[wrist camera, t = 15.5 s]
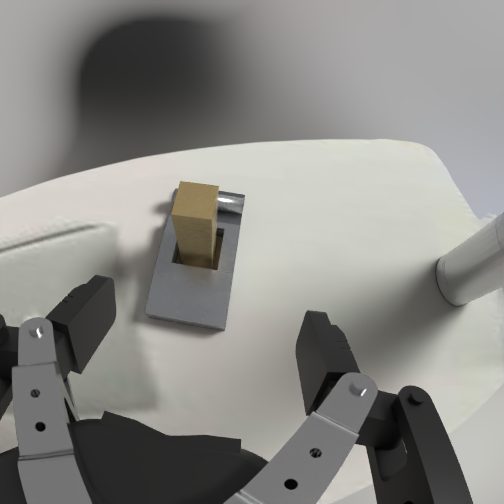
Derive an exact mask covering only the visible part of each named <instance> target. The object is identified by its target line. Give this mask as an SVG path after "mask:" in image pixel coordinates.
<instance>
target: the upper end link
mask: <svg viewBox="0 0 504 504" xmlns="http://www.w3.org/2000/svg"><path fill="white" fill-rule="evenodd" d="M239 231H240V225H235V224H228V223H222V222H217V232H219V233H224V236H223V242H222V247H221V253H220V259H219V265H218V270H212V269H206V268H200V267H194V266H188V265H182V264H176V263H174V258H175V254H176V250H177V246H178V243H177V239H176V234H175V230H174V225H173V221H172V216H171V215H169V216H168V220H167V223H166V227H165V230H164V234H163V238H162V241H161V245H160V249H159V253H158V257H157V261H156V265H155V269H154V273H153V277H152V281H151V285H150V290H149V294H148V299H147V303H146V308H145V314H146V315H147V316H148V317H151V318H156V319H161V320H166V321H171V322H177V323H182V324H188V325H193V326H199V327H205V328H211V329H218V330H224V331H225V327H226V320H227V313H228V306H229V299H230V292H231V285H232V278H233V271H234V264H235V258H236V251H237V244H238V238H239Z"/></svg>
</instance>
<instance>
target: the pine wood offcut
mask: <svg viewBox="0 0 504 504" xmlns="http://www.w3.org/2000/svg"><path fill="white" fill-rule="evenodd" d="M218 192H219V186H214V185H207V184H199V183H191V182H182V181H180V184H179V188H178V191H177V195H176V198H175V202H174V205H173V209H172V212H171V216H172V221H173V225H174V230H175V234H176V239H177V243H178V247H179V251H180V255H181V259H182V263H183V265H188V266H194V267H200V268H206V269H212V265H213V259H214V253H215V247H216V232H217V211H218Z"/></svg>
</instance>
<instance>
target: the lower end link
mask: <svg viewBox="0 0 504 504" xmlns="http://www.w3.org/2000/svg"><path fill="white" fill-rule="evenodd" d="M177 191H178V189H177V188H176V189H175V191H174V195H173V203H174V202H175V198H176V195H177ZM244 200H245V195H242V194H236V193H229V192H223V191H219V192H218V211H217V222H222V223H228V224H235V225H240V223H241V217H242V212H243V206H244ZM223 236H224V233H219V232H216V237H223ZM178 250H179V247H178V246H177V250H176V254H175V258H174V263H176V258H177V254H178Z"/></svg>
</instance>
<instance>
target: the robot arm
mask: <svg viewBox="0 0 504 504" xmlns="http://www.w3.org/2000/svg"><path fill="white" fill-rule="evenodd" d="M436 276H437V282H438V285H439V288H440V290H441V292H442V294H443V296H444V297H445V299H446V300H447V301H448V302H450V303H451V304H453V305H455V306H461V305H463V304H466V303H468V302H470V301H473V300H475V299H477V298H480V297H482V296H484V295H486V294H488V293H490V292H492V291H494V290H496V289H498V288H500V287H503V286H504V212H503V213H502V214H501V215H500V216H498V217H497V218H496V219H495V220H493V221H492V222H491V223H489V224H488V225H487V226H485V227H484V228H483V229H481V230H480V231H478V232H477V233H476V234H474V235H473V236H472V237H470V238H469V239H467V240H466V241H464V242H463V243H462V244H460V245H459V246H457V247H456V248H454V249H453V250H451V251H450V252H448V253H447V254H445V255H444V256H442V257H441V258H440V260H439V261H438V264H437V269H436ZM115 317H116V302H115V289H114V281H113V279H112V278H109V277H104V276H99V275H95V276H94V277H93V278H92V279H91V280H90V281H89V282H88V283H87V284H82V285H80V286H78V287H76V288H74V289H73V290H72V291H71V292H70V293H69V294H68V296H66V297H65V298H64V299H63V300H62V302H60V303H59V304H58V305H57V306H56V307H55V308H54V309H53V310H52V311H51V312H50V313H49V314H48V315H47V316H46V317H45V318H41V317H37V318H31V319H29V320H27V321H25V322H24V323H23V324H22V325H21V326H20V328H19V327H10V326H6V323H5V320H4V317H3V316H2V315H1V314H0V420H1V418H2V416H3V414H4V413H5V411H6V409H7V407H8V406H9V404H10V402H11V401H12V399H13V406H14V417H15V426H16V433H17V440H18V447H15V448H13V449H11V450H8V451H6V452H3V453H1V454H0V504H316V503H317V501H318V500H319V499H320V497H321V496H322V494H323V493H324V492H325V490H326V489H327V487H328V486H329V484H330V483H331V481H332V480H333V478H334V477H335V475H336V474H337V472H338V470H339V469H340V467H341V466H342V464H343V462H344V461H345V459H346V457H347V456H348V454H349V452H350V451H351V449H352V447H353V445H354V444H359V445H364V446H366V449H367V454H368V459H369V463H370V468H371V473H372V478H373V483H374V489H375V494H376V500H377V504H473V501H472V498H471V495H470V492H469V490H468V486H467V483H466V481H465V478H464V475H463V472H462V470H461V467H460V464H459V462H458V459H457V457H456V454H455V452H454V449H453V447H452V444H451V442H450V439H449V437H448V435H447V432H446V430H445V428H444V426H443V423H442V421H441V419H440V417H439V414H438V412H437V410H436V408H435V406H434V404H433V402H432V399H431V398H430V396H429V395H428V393H427V392H426V391H424V390H423V389H421V388H419V387H416V386H405V387H403V388H402V389H401V390H400V392H399V393H398V395H396V394H391V393H387V392H382V391H379V390H378V389H377V386H376V384H375V383H374V381H373V380H372V379H370V378H369V377H367V376H366V375H363V374H360V371H359V369H358V366H357V364H356V361H355V359H354V356H353V354H352V351H350V346H349V344H348V343H347V339H346V337H345V334H344V333H343V332H342V331H341V330H340V329H339V328H338V327H337V326H336V325H331V324H330V321H329V319H328V316H327V314H326V312H318V311H309V310H308V311H307V312H306V314H305V317H304V320H303V323H302V326H301V330H300V333H299V336H298V339H297V343H296V359H297V364H298V370H299V376H300V382H301V388H302V394H303V400H304V406H305V412H306V416H309V417H308V418H307V420H306V421H305V422H304V423H303V424H302V426H301V427H300V428H299V429H298V430H297V432H296V433H295V434H294V435H293V436H292V437H291V439H290V440H289V441H288V442H287V443H286V444H285V445H284V447H283V448H282V449H281V450H280V451H279V452H278V453H277V454H276V455H275V456H274V457H273V459H272V460H271V461H270V462H268V461H266V460H265V459H263V458H262V457H260V456H258V455H256V454H254V453H252V452H250V451H247V450H244V449H241V439H233V438H225V437H217V436H210V435H192V436H169V435H165V434H163V433H161V432H159V431H157V430H154V429H152V428H150V427H148V426H146V425H144V424H142V423H140V422H138V421H136V420H134V419H130V418H126V417H123V416H120V415H116V414H113V413H110V412H107V411H104V414H103V416H102V418H101V419H85V420H80V419H79V416H78V413H77V409H76V406H75V402H74V398H73V394H72V390H71V386H70V381H69V378H68V374H69V372H70V371H73V372H76V373H79V374H81V373H82V372H83V370H84V368H85V367H86V365H87V363H88V362H89V360H90V359H91V357H92V355H93V354H94V352H95V351H96V349H97V348H98V346H99V345H100V343H101V341H102V340H103V338H104V337H105V335H106V334H107V332H108V331H109V329H110V328H111V326H112V325H113V323H114V321H115ZM403 442H404V443H403ZM404 445H405V446H404ZM405 448H406V449H405ZM406 451H407V452H406Z"/></svg>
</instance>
